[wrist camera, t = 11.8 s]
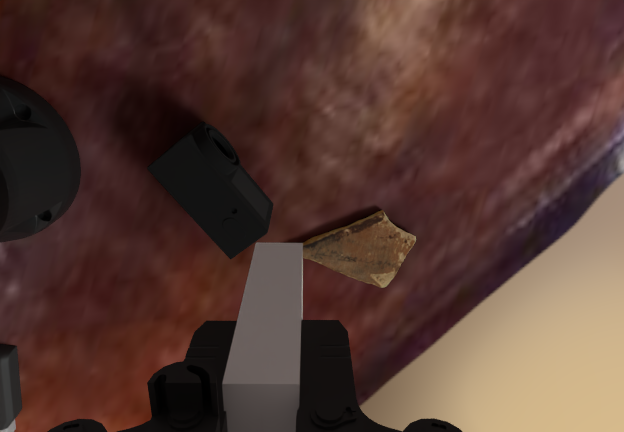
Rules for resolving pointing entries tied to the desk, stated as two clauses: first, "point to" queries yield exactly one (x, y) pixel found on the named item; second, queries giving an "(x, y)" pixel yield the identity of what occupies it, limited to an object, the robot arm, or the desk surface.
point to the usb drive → (9, 388)
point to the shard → (362, 249)
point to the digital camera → (214, 189)
